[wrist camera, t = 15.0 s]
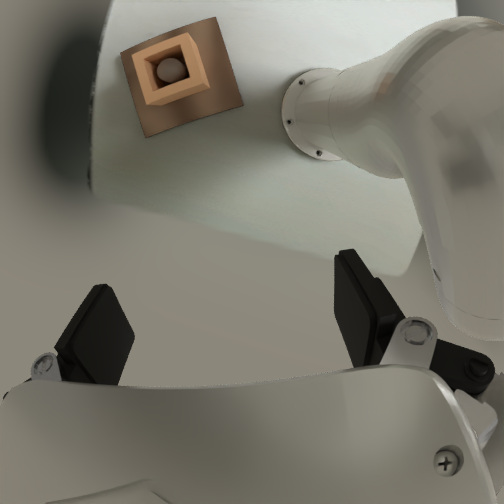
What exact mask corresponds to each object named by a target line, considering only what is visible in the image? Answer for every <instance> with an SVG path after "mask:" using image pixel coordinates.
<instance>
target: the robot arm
mask: <svg viewBox="0 0 504 504" xmlns="http://www.w3.org/2000/svg"><path fill="white" fill-rule="evenodd" d="M299 81H301V82H302V85H300V84H299ZM281 115H282V121H283V126H284V128H285V130H286V133H287V135H288V136H289V138H290V139H291V141H292V142H293V143H294V144H295V145H296V146H297V147H298V148H299V149H300V150H302V151H303V152H304V153H306V154H308V155H310V156H311V157H314V158H316V159H320V160H325V161H338V160H343V159H344V160H346V161H348V162H350V163H352V164H354V165H355V166H357V167H359V168H362V169H364V170H366V171H368V172H369V173H372V174H374V175H377V176H380V177H383V178H390V179H398V178H404V179H405V181H406V184H407V186H408V189H409V191H410V194H411V197H412V200H413V203H414V206H415V209H416V212H417V216H418V219H419V222H420V224H421V226H422V230H423V233H424V237H425V241H426V245H427V249H428V253H429V258H430V262H431V267H432V272H433V276H434V280H435V285H436V289H437V293H438V297H439V300H440V302H441V306H442V308H443V310H444V312H445V314H446V315H447V317H448V318H449V320H450V321H451V322H452V323H453V324H454V325H455V326H456V327H457V328H458V329H460V330H461V331H462V332H464V333H466V334H467V335H470V336H472V337H475V338H478V339H482V340H489V341H502V340H504V25H503V24H501V23H498V22H496V21H493V20H490V19H487V18H482V17H475V16H462V17H455V18H450V19H445V20H441V21H438V22H435V23H433V24H430V25H428V26H426V27H424V28H422V29H420V30H418V31H416V32H414V33H413V34H411V35H410V36H408V37H407V38H405V39H404V40H402V41H401V42H400V43H398V44H397V45H396V46H395V47H393V48H392V49H391V50H389V51H388V52H386V53H385V54H383V55H381V56H378V57H376V58H374V59H371V60H369V61H366V62H364V63H361V64H358V65H355V66H352V67H350V68H347V69H344V70H342V71H340V70H338V69H332V68H318V69H314V70H310V71H308V72H306V73H304V74H302V75H301V76H299V77H298V78H297V79H295V80H294V81H293V82H292V83H291V85H290V86H289V88H288V89H287V90H286V93H285V95H284V98H283V102H282V107H281ZM288 120H290V121H291V123H290V124H288V123H287V121H288ZM316 151H319V154H316ZM334 266H335V267H334V270H335V271H334V274H335V275H334V276H335V278H334V281H335V283H334V314H335V318H336V320H337V323H338V325H339V328H340V331H341V333H342V336H343V339H344V342H345V344H346V347H347V350H348V353H349V356H350V358H351V361H352V364H353V367H354V368H350V369H345V370H338V371H332V372H327V373H321V374H314V375H308V376H301V377H293V378H286V379H279V380H271V381H262V382H252V383H242V384H230V385H213V386H191V387H137V386H118V383H119V380H120V377H121V374H122V371H123V369H124V366H125V363H126V361H127V358H128V355H129V353H130V350H131V347H132V344H133V342H134V339H135V335H134V332H133V330H132V328H131V326H130V324H129V322H128V320H127V318H126V316H125V314H124V312H123V310H122V308H121V306H120V304H119V302H118V300H117V297H116V296H115V293H114V291H113V289H112V288H111V287H109V286H108V285H107V284H99V285H95V286H93V288H92V289H91V291H90V292H89V294H88V295H87V297H86V298H85V299H84V301H83V302H82V304H81V305H80V307H79V308H78V310H77V312H76V313H75V314H74V316H73V318H72V319H71V321H70V322H69V324H68V326H67V327H66V329H65V330H64V332H63V333H62V335H61V337H60V338H59V340H58V342H57V343H56V345H55V347H54V348H55V350H56V351H57V352H58V355H57V357H56V355H55V354H54V353H50V352H49V353H44V354H42V355H41V356H39V357H38V358H37V359H36V360H35V361H34V363H33V365H32V367H31V378H30V379H28V380H26V381H25V382H23V383H21V384H19V385H17V386H15V387H13V388H12V389H11V390H10V391H9V392H7V393H6V394H5V395H4V397H3V401H2V403H1V405H0V504H497V499H496V495H497V494H498V492H499V491H500V489H501V488H502V486H503V485H504V374H503V373H500V375H498V374H496V373H495V367H494V364H493V362H492V361H491V359H490V358H488V357H487V356H486V355H484V354H482V353H479V352H476V351H473V350H470V349H467V348H464V347H461V346H458V345H455V344H452V343H449V342H446V341H443V340H440V339H437V330H436V327H435V326H434V325H433V324H432V323H431V322H430V321H428V320H427V319H424V318H421V317H408V318H406V317H405V316H404V314H403V313H402V311H401V310H400V308H399V306H398V305H397V303H396V302H395V300H394V299H393V297H392V296H391V294H390V293H389V291H388V290H387V288H386V287H385V285H384V284H383V282H382V281H381V280H380V279H379V278H374V277H373V276H372V274H371V273H370V271H369V270H368V268H367V267H366V265H365V264H364V263H363V261H362V260H361V258H360V257H359V255H358V254H357V252H356V251H355V250H354V249H347V250H341V251H339V255H335V258H334ZM473 429H474V430H475V431H476V434H477V437H478V438H477V437H476V435H475V432H474V430H473ZM435 454H436V455H435Z"/></svg>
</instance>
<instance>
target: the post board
mask: <svg viewBox="0 0 504 504" xmlns="http://www.w3.org/2000/svg"><path fill="white" fill-rule="evenodd" d="M187 32H188V33H189V35H190V36H191V38H192V39H193V40H194V42H195V43H196V45H197V48H198V51H199V54H200V57H201V60H202V64H203V67H204V70H205V73H206V76H207V79H208V83H209V86H210V89H207V90H204V91H201V92H198V93H195V94H192V95H189V96H186V97H183V98H180V99H178V100H175V101H172V102H170V103H167V104H164V105H162V106H161V105H146V102H145V99H144V95H143V92H142V89H141V85H140V82H139V79H138V75H137V72H136V69H135V65H134V62H133V58H132V55H133V54H135V53H137V52H139V51H141V50H143V49H146V48H148V47H150V46H153V45H155V44H158V43H160V42H163V41H165V40H168V39H170V38H173V37H176V36H178V35H181V34H184V33H187ZM120 54H121V58H122V62H123V66H124V69H125V73H126V76H127V80H128V83H129V87H130V90H131V94H132V97H133V100H134V103H135V107H136V110H137V113H138V116H139V119H140V123H141V126H142V129H143V132H144V135H145V138H147V137H150V136H152V135H155V134H157V133H160V132H162V131H165V130H168V129H170V128H173V127H176V126H179V125H181V124H184V123H187V122H190V121H193V120H196V119H199V118H202V117H205V116H209V115H212V114H215V113H218V112H222V111H225V110H229V109H232V108H236V107H240V106H243V103H242V99H241V96H240V93H239V89H238V86H237V83H236V79H235V76H234V73H233V70H232V66H231V63H230V60H229V57H228V53H227V50H226V47H225V44H224V41H223V38H222V35H221V32H220V28H219V25H218V22H217V19H216V17H212V18H209V19H205V20H202V21H199V22H196V23H192V24H189V25H186V26H183V27H181V28H178V29H175V30H172V31H169V32H167V33H164V34H162V35H159V36H157V37H154V38H152V39H149V40H147V41H145V42H142V43H140V44H138V45H136V46H134V47H131V48H129V49H127V50H125V51H123V52H121V53H120ZM157 74H158V77H159V78H160V79H162V80H163V82H164V86H165V87H166V86H168V85H171V84H174V83H176V82H179V81H182V80H184V79H187V78H190V74H189V71H188V68H187V65H186V61H185V58H184V57H182V58H180V59H175V58H167V59H165V60H163V61H162V62H161V63H160V64H159V65H158V68H157Z"/></svg>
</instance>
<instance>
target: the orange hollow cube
mask: <svg viewBox="0 0 504 504" xmlns="http://www.w3.org/2000/svg"><path fill="white" fill-rule="evenodd" d="M182 57H184V58H185V61H186V65H187V68H188V71H189V74H190V78H187V79H184V80H182V81H179V82H176V83H174V84H171V85H168V86H166V87H165V86H164V82H163V80H162V79H160V78H159V77H158V74H157V68H158V65H159V64H160V63H161V62H162V61H163V60H165V59H167V58H175V59H180V58H182ZM132 58H133V62H134V65H135V69H136V72H137V75H138V79H139V82H140V85H141V89H142V92H143V95H144V99H145V102H146V105H161V106H162V105H164V104H167V103H170V102H172V101H175V100H178V99H180V98H183V97H186V96H189V95H192V94H195V93H198V92H201V91H204V90H207V89H210V86H209V83H208V79H207V76H206V73H205V70H204V67H203V64H202V60H201V57H200V54H199V51H198V48H197V45H196V43H195V42H194V40H193V39H192V38H191V36H190V35H189V33H188V32H187V33H184V34H181V35H178V36H176V37H173V38H170V39H168V40H165V41H163V42H160V43H158V44H155V45H153V46H150V47H148V48H146V49H143V50H141V51H139V52H137V53H135V54H133V55H132Z"/></svg>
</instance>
